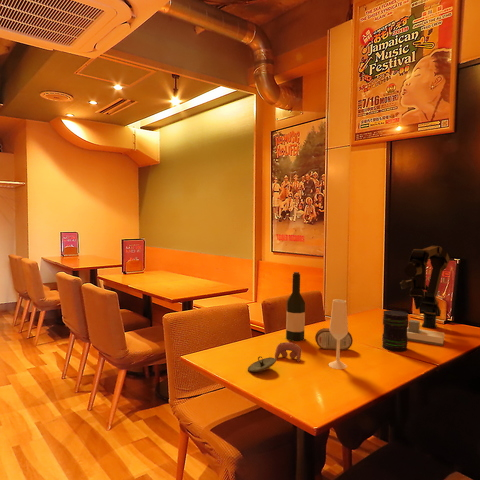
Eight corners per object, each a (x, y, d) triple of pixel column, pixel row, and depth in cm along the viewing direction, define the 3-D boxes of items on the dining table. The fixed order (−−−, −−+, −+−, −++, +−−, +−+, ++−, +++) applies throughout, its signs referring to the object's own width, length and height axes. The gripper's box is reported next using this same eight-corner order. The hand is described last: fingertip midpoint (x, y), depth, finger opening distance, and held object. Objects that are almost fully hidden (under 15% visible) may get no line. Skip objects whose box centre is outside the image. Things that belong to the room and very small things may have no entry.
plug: (409, 334, 176) (410, 319, 176) (419, 336, 174) (419, 320, 174) (408, 336, 173) (408, 321, 173) (417, 338, 171) (418, 322, 171)
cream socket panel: (387, 331, 184) (388, 324, 184) (444, 340, 171) (444, 332, 171) (384, 336, 176) (384, 329, 176) (442, 346, 164) (443, 338, 163)
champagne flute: (344, 370, 135) (345, 303, 134) (325, 366, 138) (327, 301, 137) (349, 364, 141) (351, 300, 139) (331, 360, 144) (333, 298, 143)
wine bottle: (283, 340, 169) (284, 272, 167) (288, 335, 176) (289, 270, 175) (302, 342, 166) (303, 274, 164) (306, 337, 173) (307, 271, 172)
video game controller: (301, 363, 146) (302, 344, 148) (299, 361, 142) (301, 342, 144) (275, 360, 149) (277, 341, 151) (273, 358, 145) (275, 339, 147)
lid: (275, 377, 128) (275, 362, 128) (245, 375, 130) (246, 360, 129) (276, 365, 139) (276, 352, 138) (249, 363, 140) (249, 350, 140)
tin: (351, 348, 158) (352, 328, 158) (353, 351, 155) (353, 331, 155) (314, 347, 160) (315, 327, 159) (315, 349, 157) (316, 329, 156)
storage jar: (410, 348, 160) (412, 313, 160) (402, 353, 153) (403, 317, 152) (387, 342, 167) (388, 309, 166) (378, 347, 160) (379, 312, 159)
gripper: (404, 271, 195) (403, 301, 196) (398, 276, 180) (397, 308, 180) (428, 273, 190) (427, 304, 190) (424, 278, 174) (423, 312, 175)
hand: (418, 307), depth 184 cm, fingers open, 9 cm apart
